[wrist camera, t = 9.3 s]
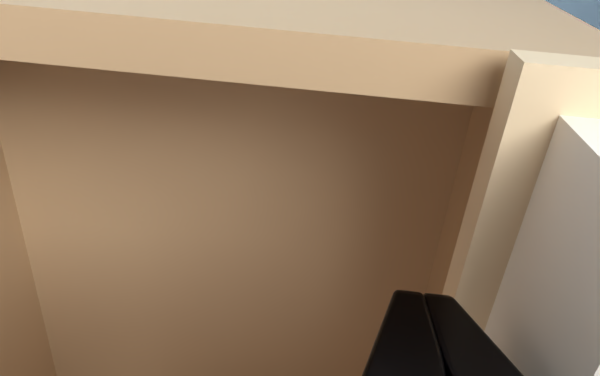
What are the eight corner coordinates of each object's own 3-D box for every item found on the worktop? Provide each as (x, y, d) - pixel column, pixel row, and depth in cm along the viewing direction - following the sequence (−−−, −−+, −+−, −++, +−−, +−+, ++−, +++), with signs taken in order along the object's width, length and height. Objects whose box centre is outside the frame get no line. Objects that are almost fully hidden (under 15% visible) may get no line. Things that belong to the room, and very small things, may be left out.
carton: (527, -9, 12) (666, 66, 7) (406, 425, 20) (427, 612, 15) (-57, -62, 12) (-346, -29, 7) (53, 384, 20) (-47, 551, 15)
